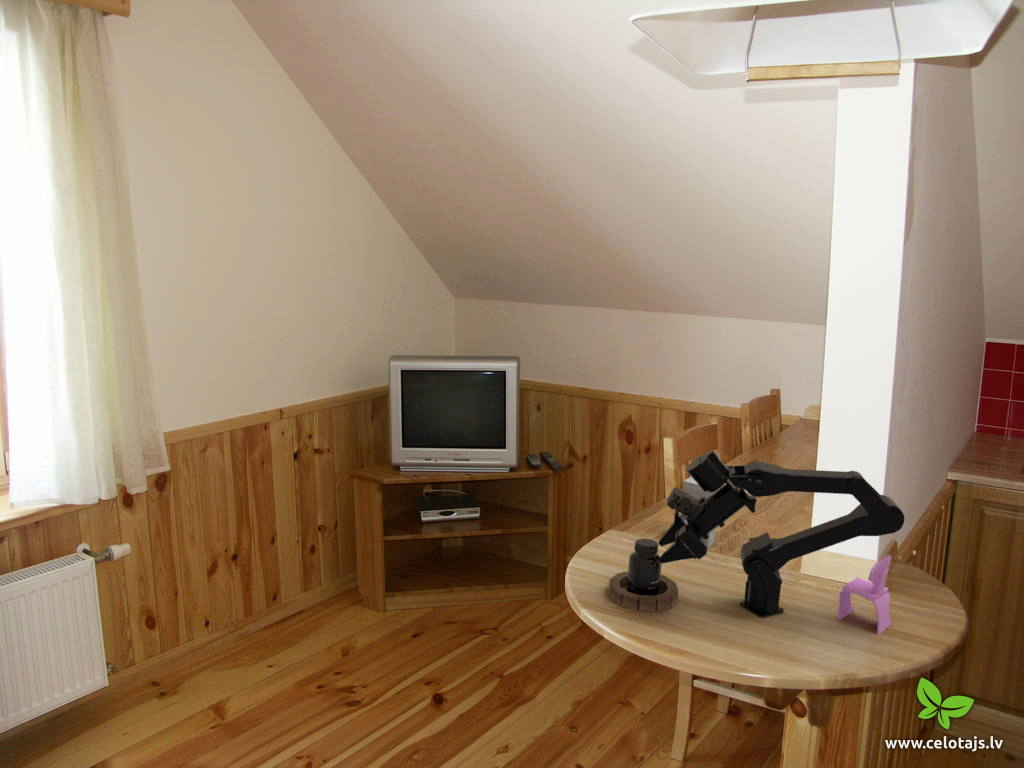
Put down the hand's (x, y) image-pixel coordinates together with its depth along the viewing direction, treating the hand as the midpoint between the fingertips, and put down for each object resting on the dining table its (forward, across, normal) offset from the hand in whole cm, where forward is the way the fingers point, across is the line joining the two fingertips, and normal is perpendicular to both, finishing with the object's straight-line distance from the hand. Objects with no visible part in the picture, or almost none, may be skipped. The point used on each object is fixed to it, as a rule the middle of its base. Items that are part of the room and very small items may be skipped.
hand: (659, 552), depth 171 cm
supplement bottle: (+9, 0, +5) cm, 11 cm away
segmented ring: (+9, 0, +5) cm, 10 cm away
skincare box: (0, -34, +14) cm, 37 cm away
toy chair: (-22, +1, +36) cm, 42 cm away
